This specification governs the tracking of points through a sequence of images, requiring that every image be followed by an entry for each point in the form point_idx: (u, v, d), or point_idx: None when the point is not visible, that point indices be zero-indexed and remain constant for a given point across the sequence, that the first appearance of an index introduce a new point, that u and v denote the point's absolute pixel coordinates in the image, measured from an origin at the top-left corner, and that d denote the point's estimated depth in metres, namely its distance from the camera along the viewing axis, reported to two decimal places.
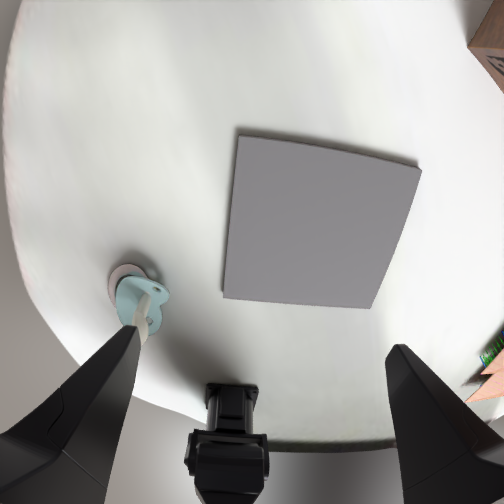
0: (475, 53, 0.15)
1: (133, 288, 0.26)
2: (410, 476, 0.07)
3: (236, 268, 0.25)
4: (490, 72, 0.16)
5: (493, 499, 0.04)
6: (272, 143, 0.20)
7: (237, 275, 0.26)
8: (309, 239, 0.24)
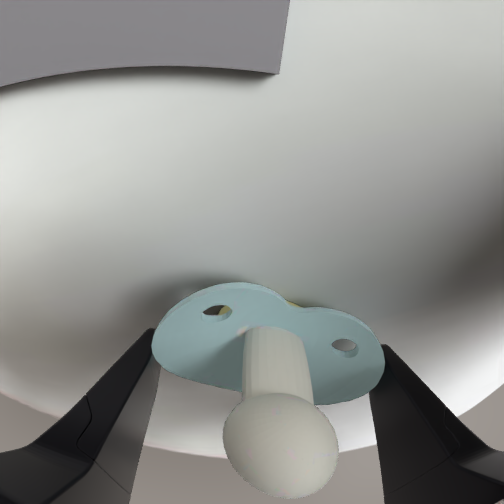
0: None
1: (227, 357, 0.10)
2: (391, 481, 0.07)
3: (134, 30, 0.05)
4: None
5: None
6: None
7: (164, 23, 0.05)
8: None
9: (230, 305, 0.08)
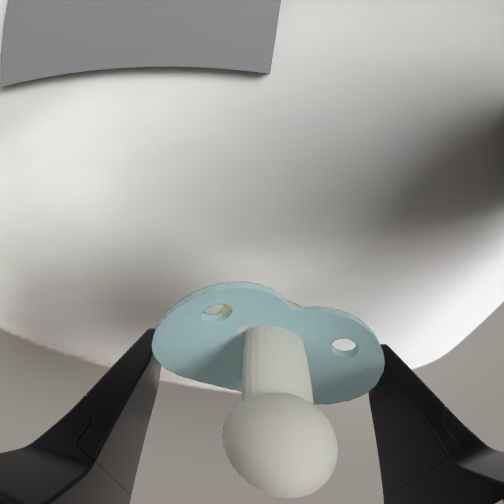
0: None
1: (227, 357, 0.10)
2: (390, 481, 0.07)
3: (190, 46, 0.10)
4: None
5: None
6: (4, 47, 0.09)
7: (207, 44, 0.10)
8: None
9: (230, 304, 0.08)
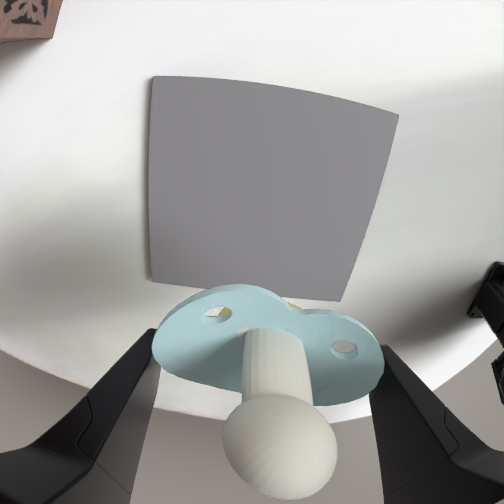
0: (52, 26, 0.12)
1: (227, 358, 0.10)
2: (390, 481, 0.07)
3: (300, 288, 0.22)
4: None
5: None
6: (153, 255, 0.20)
7: (310, 288, 0.22)
8: (265, 215, 0.19)
9: (230, 307, 0.08)
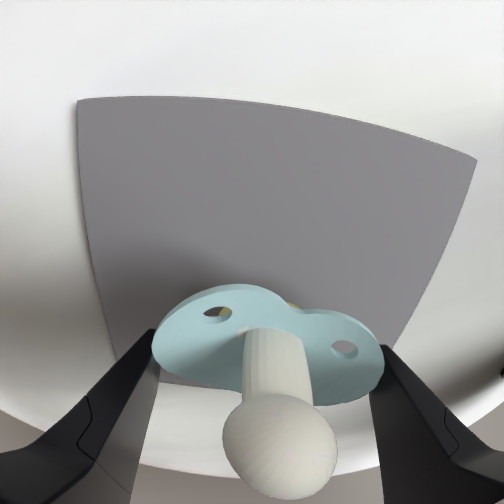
0: None
1: (227, 358, 0.10)
2: (390, 481, 0.07)
3: None
4: None
5: None
6: (118, 350, 0.14)
7: None
8: None
9: (230, 306, 0.08)
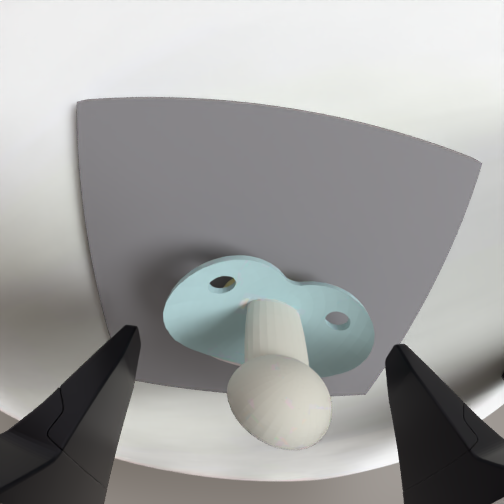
0: None
1: (230, 329, 0.11)
2: (410, 476, 0.07)
3: None
4: None
5: (493, 499, 0.04)
6: None
7: (330, 386, 0.15)
8: None
9: (234, 276, 0.10)
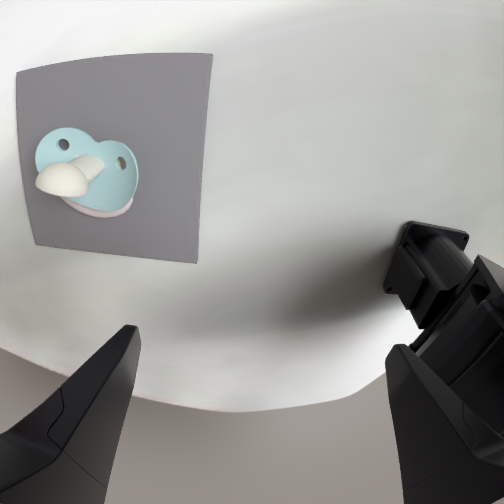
0: None
1: None
2: (410, 476, 0.07)
3: (151, 248, 0.21)
4: None
5: (493, 499, 0.04)
6: (32, 220, 0.20)
7: (160, 247, 0.21)
8: None
9: (67, 139, 0.15)
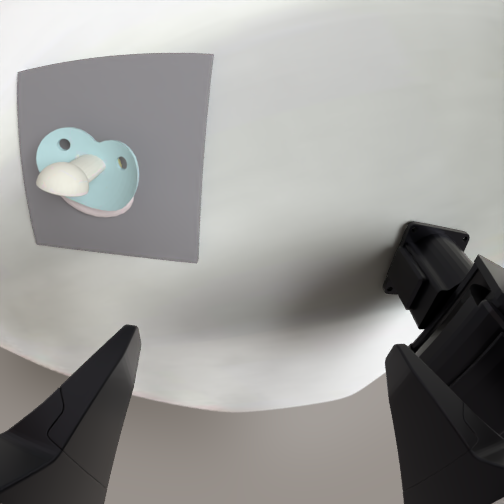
0: None
1: None
2: (410, 476, 0.07)
3: (151, 247, 0.21)
4: None
5: (493, 499, 0.04)
6: (33, 220, 0.20)
7: (160, 247, 0.21)
8: None
9: (68, 139, 0.15)
